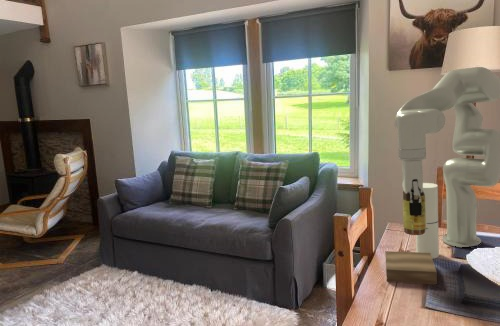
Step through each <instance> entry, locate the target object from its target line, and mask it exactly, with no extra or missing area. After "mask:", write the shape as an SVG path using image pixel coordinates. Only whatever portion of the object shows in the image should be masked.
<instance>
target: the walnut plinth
mask: <svg viewBox="0 0 500 326" xmlns="http://www.w3.org/2000/svg"><path fill="white" fill-rule="evenodd" d="M384 253H385V270H386V271H385V272H386V282H388V283H389V282H390V283H391V282H392V283H404V284H407V283H409V284H422V285H436V284H437V285H438V281H437V279H438V278H437V277H438V273H437V269H436V266H435V263H434V260H433V259H434V258H433V259H432V256H431V253H421V252H416V251H394V250H393V251H390V250H388V251H387V250H386V251H385V252H384Z"/></svg>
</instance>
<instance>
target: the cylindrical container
mask: <svg viewBox="0 0 500 326" xmlns="http://www.w3.org/2000/svg"><path fill="white" fill-rule="evenodd" d="M438 188H439V186H438V184H436V183H431V182H423V192H424V194H425V211H426V212H425V216H426V228H425V233H424V234H422V235H415V245H416V246H415V247H416V248H415V249H416V250H415V252H421V253H431V256H432V259H437V258H439V256H440V250H439V249H440V246H439V245H440V243H439V241H440V240H439V237H440V236H439V192H438V191H439V189H438Z"/></svg>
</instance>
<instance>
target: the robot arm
mask: <svg viewBox="0 0 500 326" xmlns="http://www.w3.org/2000/svg"><path fill="white" fill-rule="evenodd" d="M499 99H500V77H499V76H498V75H497V74H495V72H493V71H491V70H490V69H488V68H486V67H484V66H475V67H467V68H465V67H464V68H459V69H453V70H450V71H448V72H446V73H444V75H443V76H442V77H441V79H440V80H439V81H438V82H437V83H436V84H435V85H434V87H433V88H432V89H430V90H428V91H426V92H423V93H421V94H419V95H417V96H415V97H413V98H411V99H410V100H408V101H406V102H405V103H404V104H403V105H402V106H401V108H400V109H399V110H398V111H397V113H396V114H395V116H394V117H395V118H394V122H393V123H394V127H395V129H396V131H397V147H398V149H397V150H398V152H397V153H398V154H397V155H398V160H399V161H401V175H402V176H401V178H402V179H401V183H402V184H401V185H402V186H401V187H402V189H403V190H404V192H405V193H406V194H407V192H410V202H409V208H410V215H411V216H421V215H422V210H421V198H420V193H422V192H423V183H424V181H423V180H424V178H423V177H424V175H423V174H424V173H423V161H424V160H426V159H427V145H426V139H427V138H426V135H427V134H428V135H429V134H431V135H432V134H437V133H439V132H441V130H443V128H444V127H445V124H446V115H445V114H444V112H445V111H447V110H450V109H452V108H453V110H454V111H453V112H454V114H455V122H454V123H455V124H454V130H453V136H452V147H451V148H452V151H453V152H454V153H455V154H457V155H461V156H475V157H477V156H478V157H484V158H470V157H469V158H468V157H454V158H449V159H447V160H446V161H445V162H444V163H443V166H442V172H443V173H442V174H443V178H444V183H445V189H446V191H445V193H446V199H445V200H446V234H443V235H442V236H441V237H442V238H441V239H442V242H443V243H444V244H446V245H448V246H451V247H455V246H456V247H457V248H462V247H469V246H474V245H478V244H480V243H481V244H482V239H481V238H480V237H478V236H477V197H476V196H477V195H476V193H475V191H474V189H473V188H472V187H471V186H473V187H475V186H476V187H485V188H486V187H487V188H492V187H495V186H496V185H497V184H498V183H499V180H500V130H498V129H494V128H482V127H483V121H484V120H483V119H484V117H483V114H482V112H481V111H480V110H479V109H478V107H476V106H475V105H474V104H475V103H492V102H497V101H498V100H499ZM412 184H413V185H412ZM411 190H413V191H414V192H411ZM412 195H413V196H412ZM481 244H480V245H481Z"/></svg>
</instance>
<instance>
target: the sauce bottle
mask: <svg viewBox="0 0 500 326" xmlns="http://www.w3.org/2000/svg"><path fill="white" fill-rule="evenodd" d="M412 185H413V184H412ZM411 192H414V191H413V190H411ZM412 196H413V195H412ZM420 198H421V210H422V215H421V216H411V215H410V208H409V202H410V192H407V194H406V193H405V192H404V190H403V192H402V210H403V211H402V213H403V214H402V217H403V219H402V220H403V232H404V233H405V234H406V235H411V236H416V235H422V234H424V233H425V228H426V216H425V212H426V211H425V194H424V192H422V193H420Z"/></svg>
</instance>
